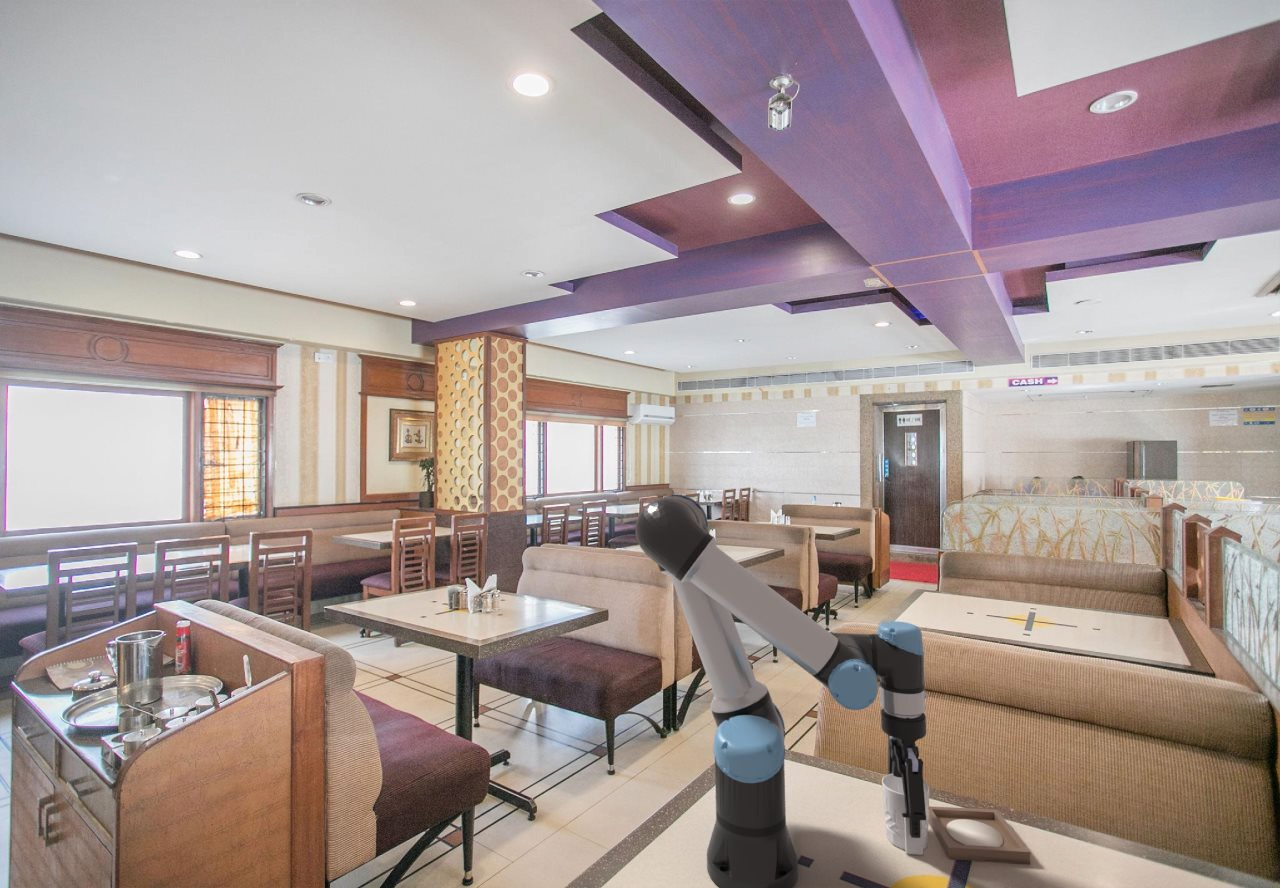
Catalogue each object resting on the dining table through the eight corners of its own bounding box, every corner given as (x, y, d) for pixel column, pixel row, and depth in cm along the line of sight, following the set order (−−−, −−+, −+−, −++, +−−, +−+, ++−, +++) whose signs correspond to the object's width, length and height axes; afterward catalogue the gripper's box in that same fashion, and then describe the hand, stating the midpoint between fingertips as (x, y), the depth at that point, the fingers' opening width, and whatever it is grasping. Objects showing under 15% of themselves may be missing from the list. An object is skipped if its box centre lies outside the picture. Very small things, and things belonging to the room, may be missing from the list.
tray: (949, 859, 108) (948, 847, 108) (925, 816, 121) (924, 806, 121) (1030, 864, 106) (1030, 852, 106) (997, 820, 119) (997, 809, 119)
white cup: (936, 855, 109) (934, 797, 109) (887, 851, 111) (886, 793, 111) (925, 829, 117) (923, 774, 117) (880, 825, 118) (878, 771, 119)
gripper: (944, 735, 104) (949, 877, 103) (908, 690, 124) (912, 808, 123) (896, 734, 105) (901, 874, 104) (868, 689, 125) (872, 806, 124)
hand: (907, 838), depth 114 cm, fingers closed on white cup, 8 cm apart
